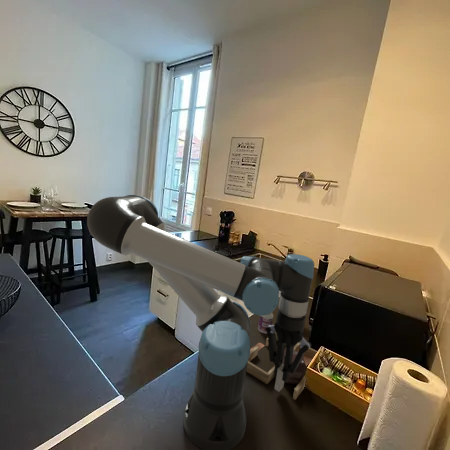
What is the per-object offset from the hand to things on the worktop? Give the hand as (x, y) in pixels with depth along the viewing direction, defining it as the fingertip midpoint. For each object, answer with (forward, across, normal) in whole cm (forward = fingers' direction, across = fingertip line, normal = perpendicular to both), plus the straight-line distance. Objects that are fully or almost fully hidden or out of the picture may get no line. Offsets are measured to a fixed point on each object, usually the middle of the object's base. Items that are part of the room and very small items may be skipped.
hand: (278, 387), depth 76 cm
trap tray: (+2, +6, -13) cm, 14 cm away
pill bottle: (+2, +20, -26) cm, 33 cm away
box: (+2, 0, -8) cm, 9 cm away
